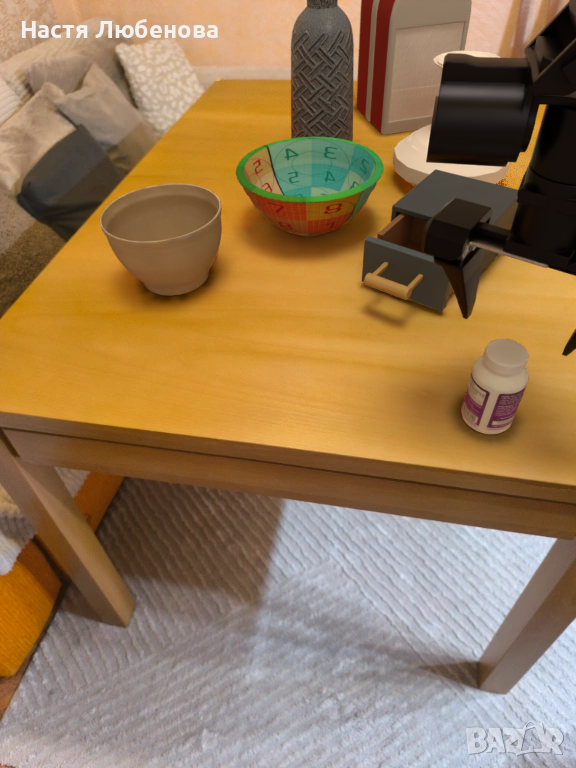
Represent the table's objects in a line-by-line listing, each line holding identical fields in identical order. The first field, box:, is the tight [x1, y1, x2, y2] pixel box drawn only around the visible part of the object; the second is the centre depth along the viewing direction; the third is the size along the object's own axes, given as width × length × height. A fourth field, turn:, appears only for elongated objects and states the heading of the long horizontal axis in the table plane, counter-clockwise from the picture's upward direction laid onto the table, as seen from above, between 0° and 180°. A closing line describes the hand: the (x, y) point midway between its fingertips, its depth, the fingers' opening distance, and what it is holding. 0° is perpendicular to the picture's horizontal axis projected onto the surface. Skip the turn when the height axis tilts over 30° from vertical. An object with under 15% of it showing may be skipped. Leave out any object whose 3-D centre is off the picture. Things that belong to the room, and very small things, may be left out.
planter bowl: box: [99, 183, 223, 296], centre depth 75 cm, size 16×16×11 cm
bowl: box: [235, 137, 385, 237], centre depth 84 cm, size 22×22×10 cm
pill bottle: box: [460, 338, 530, 435], centre depth 54 cm, size 5×5×10 cm
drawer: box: [361, 213, 454, 312], centre depth 71 cm, size 17×12×7 cm
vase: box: [290, 0, 355, 142], centre depth 96 cm, size 12×12×28 cm
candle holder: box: [392, 49, 511, 188], centre depth 89 cm, size 20×20×19 cm
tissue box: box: [355, 0, 473, 135], centre depth 109 cm, size 17×18×27 cm
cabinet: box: [390, 169, 518, 278], centre depth 77 cm, size 13×13×8 cm
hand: (514, 333), depth 49 cm, fingers open, 9 cm apart
